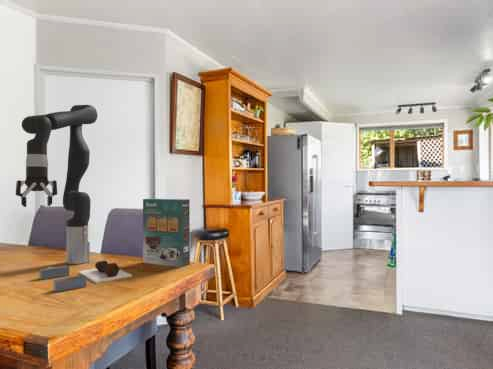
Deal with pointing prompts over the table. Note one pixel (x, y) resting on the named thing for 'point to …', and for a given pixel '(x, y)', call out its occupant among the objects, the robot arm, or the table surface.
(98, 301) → the table surface
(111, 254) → the table surface
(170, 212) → the cake mix box
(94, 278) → the board
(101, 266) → the bolt
